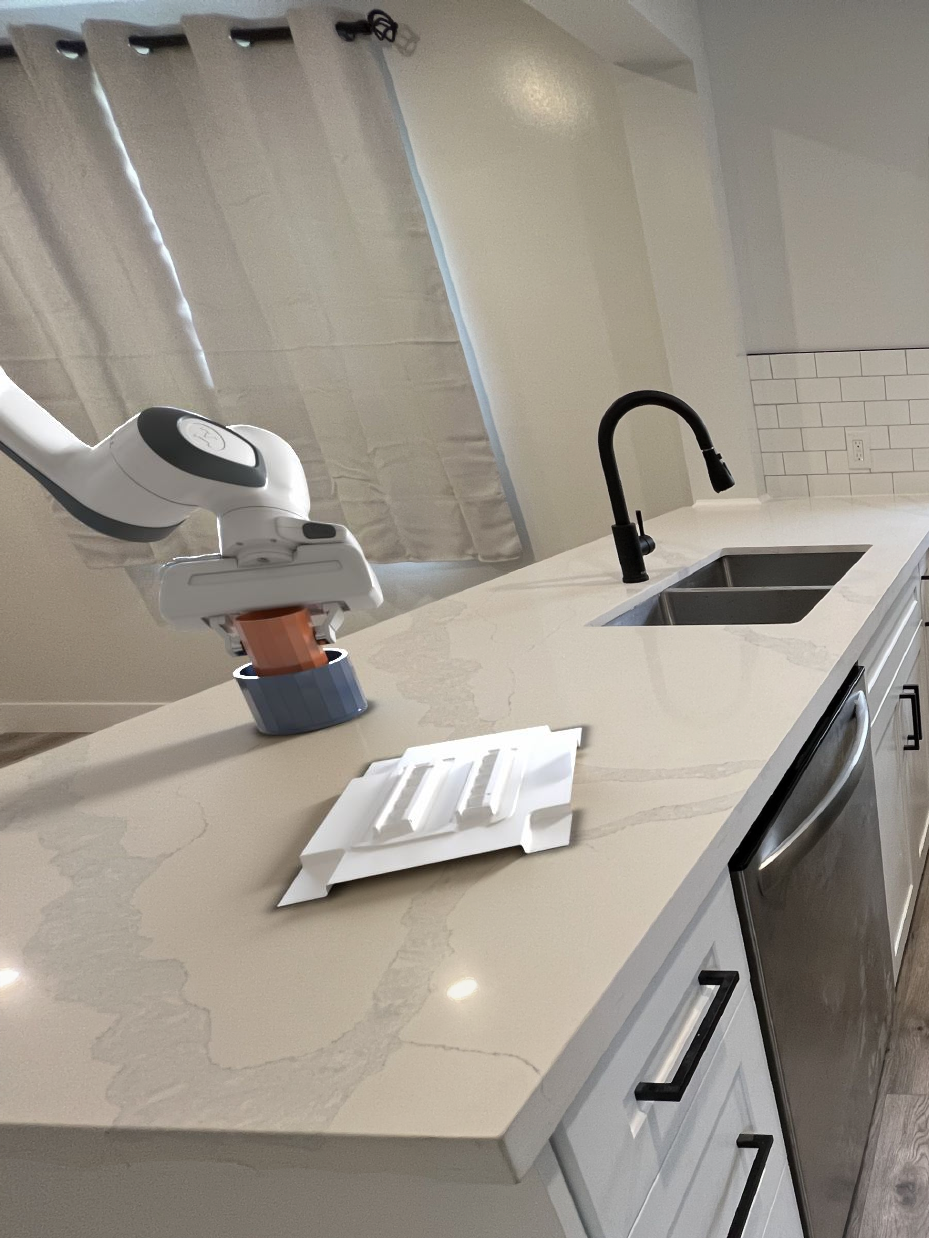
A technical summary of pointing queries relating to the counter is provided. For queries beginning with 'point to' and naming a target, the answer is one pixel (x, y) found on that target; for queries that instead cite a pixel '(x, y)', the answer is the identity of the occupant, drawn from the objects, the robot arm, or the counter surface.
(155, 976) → the counter surface
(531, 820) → the tray
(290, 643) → the terracotta cup
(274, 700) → the stack cup
